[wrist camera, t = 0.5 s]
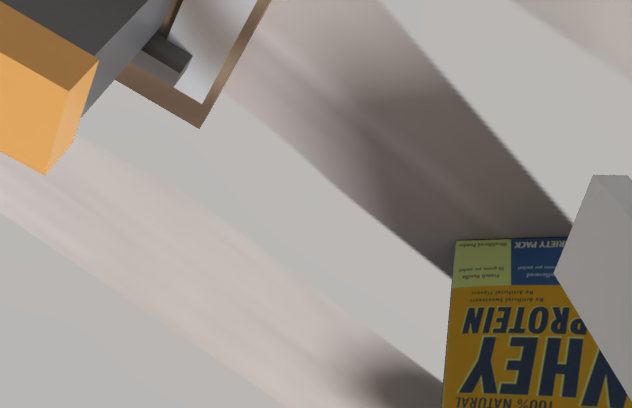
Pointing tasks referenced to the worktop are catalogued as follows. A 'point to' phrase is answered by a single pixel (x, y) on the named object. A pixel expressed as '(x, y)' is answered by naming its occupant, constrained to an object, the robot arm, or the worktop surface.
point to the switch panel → (193, 54)
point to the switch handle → (63, 67)
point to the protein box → (520, 333)
